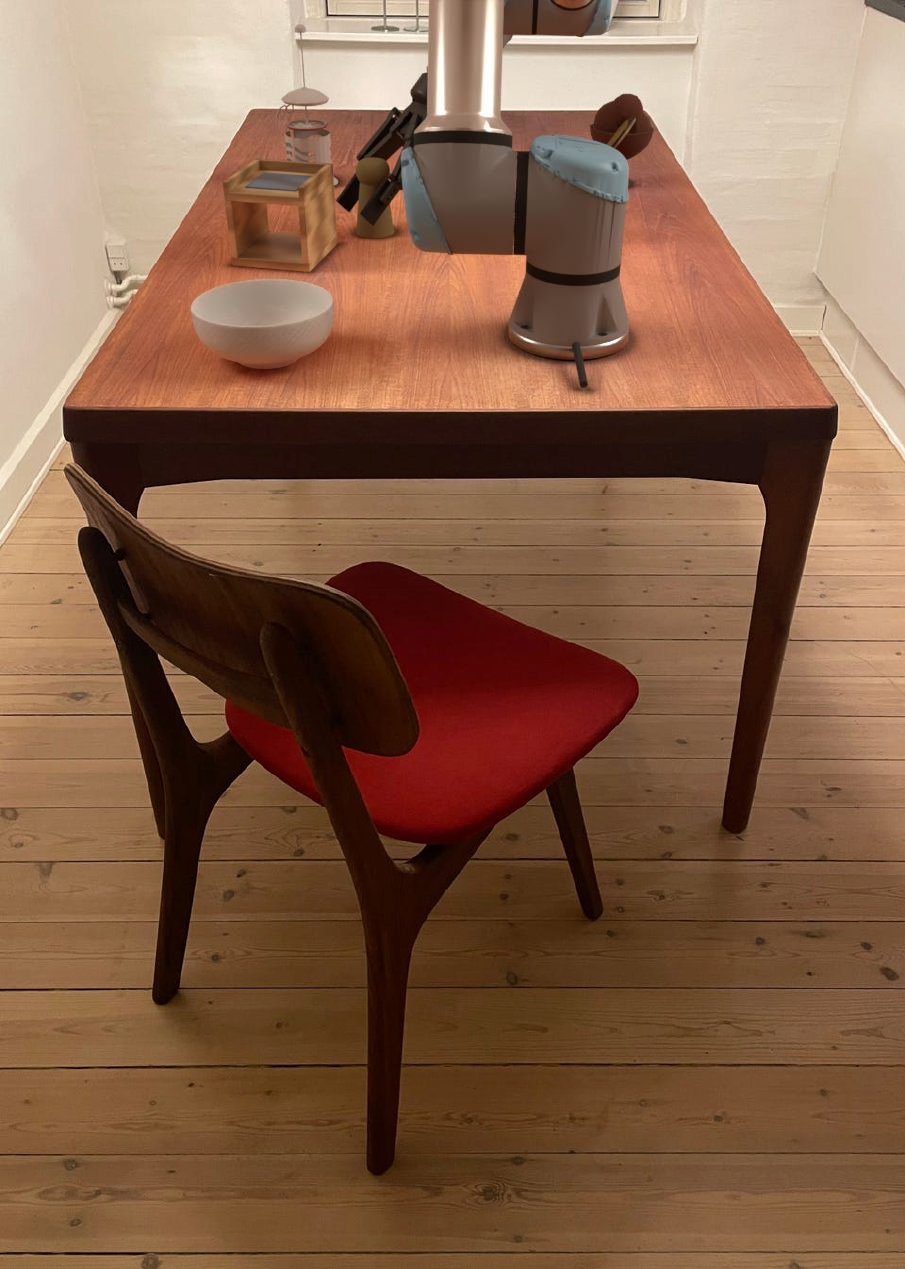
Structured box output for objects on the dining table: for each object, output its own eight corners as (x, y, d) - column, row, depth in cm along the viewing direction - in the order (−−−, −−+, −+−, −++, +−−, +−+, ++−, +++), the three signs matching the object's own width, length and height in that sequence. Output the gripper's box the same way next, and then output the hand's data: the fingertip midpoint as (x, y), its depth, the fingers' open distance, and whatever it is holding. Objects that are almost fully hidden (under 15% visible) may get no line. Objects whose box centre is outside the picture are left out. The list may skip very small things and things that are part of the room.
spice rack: (309, 272, 161) (303, 187, 154) (231, 265, 164) (222, 181, 156) (337, 244, 172) (332, 163, 164) (263, 238, 174) (256, 158, 167)
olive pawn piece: (350, 236, 174) (347, 162, 168) (362, 225, 179) (359, 152, 173) (388, 239, 173) (385, 165, 167) (398, 228, 178) (396, 155, 171)
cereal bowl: (339, 329, 144) (336, 275, 140) (334, 383, 131) (330, 325, 127) (207, 331, 143) (200, 276, 139) (188, 386, 130) (180, 327, 126)
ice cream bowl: (656, 181, 200) (666, 90, 191) (630, 196, 193) (639, 102, 184) (603, 172, 205) (611, 83, 196) (575, 186, 197) (582, 94, 188)
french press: (312, 193, 193) (301, 31, 178) (264, 181, 199) (249, 23, 184) (349, 180, 200) (342, 23, 185) (302, 170, 205) (291, 16, 190)
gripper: (494, 117, 166) (401, 245, 169) (425, 92, 179) (340, 211, 182) (464, 82, 160) (369, 214, 163) (395, 59, 174) (309, 182, 177)
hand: (354, 212), depth 173 cm, fingers open, 7 cm apart
